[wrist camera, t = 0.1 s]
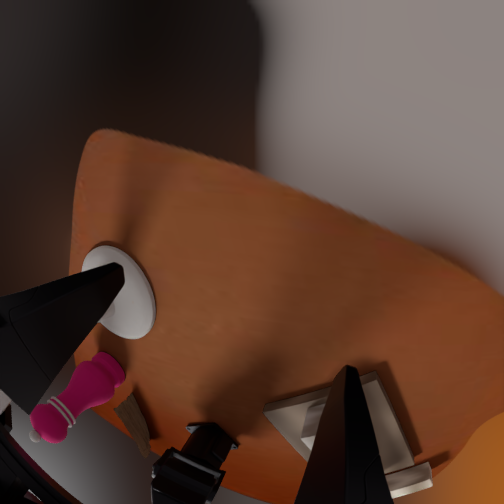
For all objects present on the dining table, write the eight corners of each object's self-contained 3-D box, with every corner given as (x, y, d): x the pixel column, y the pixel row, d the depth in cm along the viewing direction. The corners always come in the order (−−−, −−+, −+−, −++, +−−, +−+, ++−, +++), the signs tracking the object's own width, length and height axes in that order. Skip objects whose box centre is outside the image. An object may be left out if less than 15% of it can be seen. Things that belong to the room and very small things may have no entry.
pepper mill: (93, 363, 40) (18, 427, 22) (98, 340, 37) (9, 411, 19) (123, 390, 40) (52, 463, 21) (131, 371, 37) (47, 454, 18)
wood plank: (126, 389, 39) (109, 406, 35) (135, 393, 39) (118, 411, 34) (150, 439, 44) (138, 455, 39) (158, 443, 43) (146, 459, 39)
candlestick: (174, 315, 30) (-24, 502, 3) (123, 347, 35) (-19, 474, 8) (112, 225, 29) (-121, 333, 2) (74, 275, 35) (-86, 369, 7)
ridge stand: (331, 477, 33) (326, 506, 27) (265, 403, 31) (251, 440, 25) (413, 457, 27) (415, 487, 22) (375, 370, 25) (378, 411, 20)
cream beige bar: (337, 492, 35) (334, 509, 31) (329, 486, 34) (326, 503, 31) (431, 468, 27) (432, 486, 24) (428, 460, 27) (429, 479, 23)
